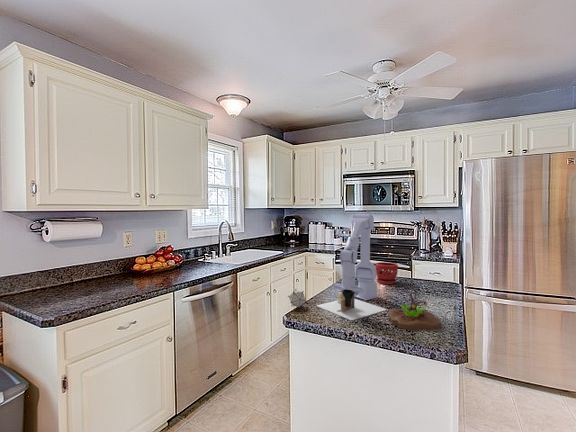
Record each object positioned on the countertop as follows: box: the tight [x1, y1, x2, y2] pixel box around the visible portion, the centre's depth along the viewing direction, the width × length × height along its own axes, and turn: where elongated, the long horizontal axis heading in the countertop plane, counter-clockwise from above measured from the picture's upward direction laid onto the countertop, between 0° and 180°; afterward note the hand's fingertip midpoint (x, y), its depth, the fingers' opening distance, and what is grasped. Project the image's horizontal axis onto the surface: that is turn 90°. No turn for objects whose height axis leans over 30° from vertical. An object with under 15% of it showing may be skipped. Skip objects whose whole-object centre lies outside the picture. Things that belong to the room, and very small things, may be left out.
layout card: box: [315, 298, 388, 322], centre depth 145 cm, size 23×23×1 cm
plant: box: [388, 292, 442, 331], centre depth 129 cm, size 20×20×11 cm
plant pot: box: [375, 261, 399, 285], centre depth 193 cm, size 13×13×12 cm
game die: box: [287, 288, 309, 310], centre depth 146 cm, size 9×8×10 cm
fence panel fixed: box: [337, 291, 355, 308], centre depth 148 cm, size 10×2×6 cm, turn 35°
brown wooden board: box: [341, 299, 352, 312], centre depth 141 cm, size 8×1×5 cm, turn 139°
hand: (348, 306), depth 139 cm, fingers closed
